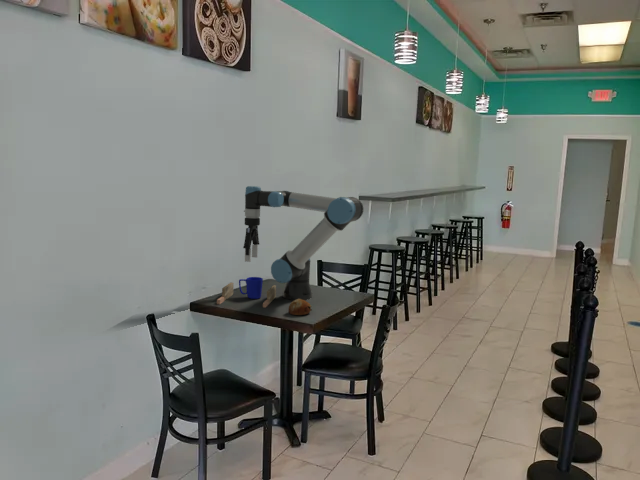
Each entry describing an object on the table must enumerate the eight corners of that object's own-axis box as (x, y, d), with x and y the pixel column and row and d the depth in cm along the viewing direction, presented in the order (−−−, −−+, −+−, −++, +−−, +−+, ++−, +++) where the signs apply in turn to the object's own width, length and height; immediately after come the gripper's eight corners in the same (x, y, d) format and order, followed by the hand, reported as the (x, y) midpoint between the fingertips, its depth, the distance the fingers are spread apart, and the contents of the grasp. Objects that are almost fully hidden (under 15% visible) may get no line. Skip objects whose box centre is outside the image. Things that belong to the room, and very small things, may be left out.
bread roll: (297, 317, 241) (290, 301, 242) (316, 308, 238) (308, 292, 239) (290, 322, 232) (282, 306, 232) (309, 313, 229) (301, 297, 229)
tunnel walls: (275, 297, 266) (276, 285, 265) (269, 303, 252) (270, 291, 251) (230, 293, 269) (230, 282, 268) (222, 300, 255) (222, 288, 254)
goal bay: (269, 304, 251) (269, 300, 251) (265, 307, 244) (266, 303, 244) (221, 300, 254) (221, 296, 254) (216, 304, 247) (216, 299, 247)
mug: (240, 295, 267) (240, 276, 266) (263, 296, 266) (263, 277, 265) (237, 299, 259) (237, 279, 257) (261, 300, 258) (261, 280, 257)
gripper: (251, 215, 270) (250, 255, 273) (237, 218, 246) (236, 262, 248) (265, 215, 269) (264, 256, 272) (253, 219, 245) (252, 263, 247)
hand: (251, 259), depth 260 cm, fingers open, 13 cm apart
